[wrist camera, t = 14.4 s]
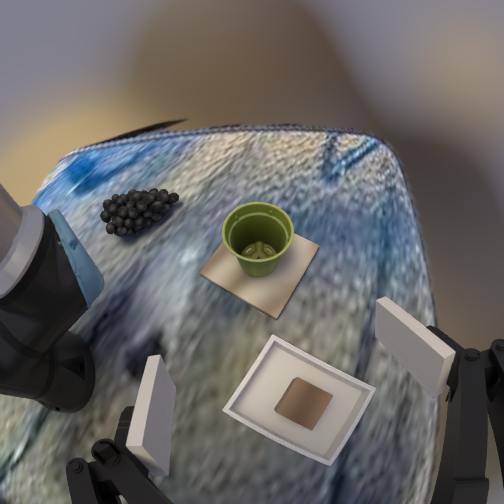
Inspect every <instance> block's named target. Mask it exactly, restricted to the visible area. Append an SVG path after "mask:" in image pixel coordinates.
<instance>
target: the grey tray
mask: <svg viewBox="0 0 504 504" xmlns="http://www.w3.org/2000/svg"><path fill="white" fill-rule="evenodd" d="M296 377H299V378H301V379H303V380H305V381H307V382H308V383H310V384H312V385H314V386H316V387H318V388H320V389H322V390H324V391H326V392H328V393H330V394H332V395H334V396H333V397H332V399H331V401H330V403H329V404H328V406H327V408H326V409H325V411H324V413H323V414H322V416H321V418H320V419H319V421H318V422H317V424H316V426H315V427H314V429H313V430H312V431H311V430H309V429H307V428H305V427H303V426H301V425H299V424H297V423H295V422H293V421H291V420H289V419H287V418H285V417H284V416H282V415H280V414H278V413H276V412H275V410H274V408H275V406H276V405H277V403H278V402H279V400H280V399H281V397H282V396H283V394H284V392H285V391H286V389H287V388H288V386H289V385H290V383H291V381H292V380H293V379H294V378H296ZM375 390H376V388H374V387H372V386H370V385H368V384H366V383H364V382H362V381H360V380H358V379H356V378H354V377H352V376H350V375H348V374H346V373H344V372H342V371H340V370H338V369H336V368H334V367H332V366H330V365H328V364H326V363H324V362H322V361H320V360H319V359H317V358H315V357H313V356H311V355H309V354H307V353H305V352H304V351H302V350H300V349H298V348H296V347H294V346H293V345H291V344H289V343H287V342H285V341H284V340H282V339H280V338H278V337H276V336H275V335H273V334H272V336H271V337H270V339H269V341H268V342H267V344H266V345H265V347H264V349H263V350H262V352H261V353H260V355H259V356H258V358H257V359H256V361H255V363H254V364H253V366H252V367H251V369H250V370H249V372H248V373H247V375H246V376H245V378H244V379H243V381H242V382H241V384H240V385H239V387H238V388H237V390H236V391H235V393H234V394H233V396H232V397H231V398H230V400H229V401H228V403H227V404H226V406H225V407H224V409H223V410H222V411H224V412H225V413H227V414H228V415H230V416H232V417H233V418H235V419H237V420H238V421H240V422H242V423H243V424H245V425H247V426H249V427H250V428H252V429H254V430H256V431H257V432H259V433H261V434H263V435H265V436H267V437H269V438H270V439H272V440H274V441H276V442H278V443H280V444H282V445H284V446H286V447H288V448H290V449H292V450H294V451H297V452H299V453H301V454H303V455H305V456H307V457H310V458H312V459H314V460H316V461H319V462H321V463H324V464H326V465H328V466H331V465H332V463H333V462H334V460H335V459H336V457H337V456H338V454H339V453H340V451H341V450H342V448H343V447H344V445H345V443H346V442H347V440H348V439H349V437H350V435H351V434H352V432H353V430H354V429H355V427H356V425H357V424H358V422H359V420H360V418H361V416H362V415H363V413H364V411H365V409H366V407H367V405H368V404H369V402H370V400H371V398H372V396H373V394H374V392H375Z"/></svg>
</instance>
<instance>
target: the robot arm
mask: <svg viewBox="0 0 504 504" xmlns="http://www.w3.org/2000/svg"><path fill="white" fill-rule="evenodd" d="M103 287H104V278H103V275H102V273H101V272H100V270H99V269H98V268H97V266H96V265H95V263H94V262H93V260H92V259H91V258H90V256H89V255H88V253H87V252H86V250H85V249H84V247H83V246H82V244H81V243H80V241H79V240H78V238H77V237H76V235H75V234H74V232H73V231H72V229H71V228H70V226H69V224H68V223H67V221H66V220H65V218H64V217H63V215H62V214H61V212H60V211H59V210H58V209H55V210H53V211H51V212H49V213H48V215H47V216H46V215H45V214H44V213H43V211H42V210H41V209H40V208H39V207H37V206H35V205H28V206H23V207H20V206H19V205H18V204H17V203H16V202H15V201H14V200H13V198H12V197H11V196H10V195H9V193H8V192H7V191H6V190H5V189H4V187H3V186H2V185H1V184H0V394H3V395H9V396H15V397H21V398H28V399H34V400H35V401H37V402H39V403H40V404H42V405H44V406H46V407H47V408H49V409H51V410H53V411H57V412H66V413H70V412H75V411H77V410H79V409H81V408H82V407H83V406H84V405H85V404H86V403H87V402H88V400H89V398H90V396H91V394H92V391H93V387H94V381H95V369H94V363H93V359H92V356H91V353H90V351H89V349H88V347H87V345H86V344H85V342H84V341H83V340H82V339H81V338H80V337H79V336H78V335H76V334H74V333H72V332H70V331H68V330H69V329H70V328H71V327H72V325H73V324H74V323H75V322H76V321H77V320H78V319H79V318H80V317H81V316H82V315H83V314H84V313H85V312H86V311H87V310H88V309H89V308H90V307H91V304H92V303H93V301H94V300H95V299H96V298H97V297H98V295H99V294H100V293H101V292H102V290H103ZM375 337H376V338H377V339H378V340H379V341H380V342H381V343H382V344H383V345H384V346H385V347H386V348H387V349H388V350H389V351H390V353H391V354H392V355H393V356H394V357H395V358H396V359H397V360H398V361H399V362H400V363H401V364H402V365H403V366H404V367H405V369H406V370H407V371H408V372H409V373H410V374H411V375H412V376H413V377H414V378H415V379H416V380H417V382H418V383H419V384H420V385H421V386H422V387H423V388H424V389H425V390H426V391H427V392H428V394H429V395H430V396H431V397H432V398H435V397H436V396H438V395H439V394H441V393H443V392H444V389H445V386H446V384H447V385H448V386H449V387H450V389H449V392H448V395H447V398H446V402H447V400H448V411H447V422H446V430H445V438H444V445H443V451H442V457H441V462H440V467H439V472H438V477H437V481H436V485H435V489H434V493H433V497H432V500H431V503H430V504H486V502H487V496H488V490H489V480H488V479H487V478H485V467H486V455H487V436H488V434H487V433H488V414H489V418H490V422H491V425H492V429H493V432H494V437H495V441H496V445H497V450H498V455H499V460H500V466H501V472H502V478H503V487H504V340H503V339H496V340H494V341H493V342H492V344H491V347H490V349H488V350H485V351H482V352H480V351H478V350H476V349H472V348H469V349H464V348H462V347H461V346H460V345H459V344H457V343H456V342H455V341H453V340H452V339H451V338H450V337H448V336H447V335H446V334H444V333H443V332H442V331H441V330H440V329H438V328H436V327H433V326H430V325H429V326H427V327H424V326H423V325H422V324H421V323H419V322H418V321H417V320H416V319H414V318H413V317H412V316H411V315H409V314H408V313H407V312H405V311H404V310H403V309H401V308H400V307H399V306H398V305H396V304H395V303H394V302H392V301H391V300H390V299H388V298H387V297H383V298H381V299H378V300H376V323H375ZM175 395H176V387H175V385H174V383H173V381H172V378H171V376H170V374H169V372H168V370H167V368H166V366H165V364H164V361H163V359H162V357H161V355H155V356H148V360H147V363H146V367H145V370H144V374H143V378H142V381H141V385H140V389H139V392H138V396H137V400H136V404H135V406H129V407H126V408H125V409H124V411H123V412H122V413H121V416H120V420H119V423H118V429H117V431H116V434H115V438H114V441H113V440H111V439H108V438H107V439H101V440H99V441H97V442H96V443H95V444H94V445H93V447H92V450H91V453H92V456H93V457H94V458H95V459H96V460H97V461H95V462H90V463H87V462H86V461H85V460H84V459H82V458H74V459H72V460H70V461H69V462H68V464H67V466H66V474H67V480H68V486H69V491H70V496H71V500H72V504H122V503H121V500H120V498H119V495H122V496H123V497H124V498H125V500H126V501H127V502H128V504H173V503H172V502H171V501H170V500H169V499H168V498H167V497H166V496H165V495H164V494H163V493H162V492H161V491H160V490H159V489H158V488H157V486H156V485H155V484H154V483H153V482H152V481H151V480H150V479H149V478H148V472H150V473H151V474H152V475H153V476H169V462H170V448H171V435H172V424H173V414H174V404H175ZM487 411H488V414H487Z"/></svg>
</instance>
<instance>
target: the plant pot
mask: <svg viewBox="0 0 504 504" xmlns="http://www.w3.org/2000/svg"><path fill="white" fill-rule="evenodd" d="M293 235H294V228H293V224H292V221H291V219H290V218H289V216H288V215H287V214H286V213H285V212H284V211H283V210H282V209H280V208H279V207H277V206H275V205H272V204H269V203H264V202H251V203H247V204H244V205H241V206H239V207H237V208H236V209H234V210H233V211H232V212H231V213H230V214H229V215H228V216H227V218H226V219H225V221H224V224H223V228H222V238H223V241H224V243H225V245H226V247H227V249H228V250H229V251H230V252H231V253H232V254H233V255H235V256H236V257H237V259H238V261H239V263H240V266H241V268H242V269H243V270H244V271H245V272H246V273H247V274H249V275H251V276H267V275H269V274H270V273H272V272H273V271H274V270H275V268H276V267H277V265H278V262H279V260H280V258H281V255H282V254H283V253H284V252H285V251H286V250H287V249H288V248H289V246H290V244H291V242H292V239H293ZM249 248H252V249H251V250H249V251H248V252H247V253H246V250H247V249H249ZM266 248H269V249H270V250H271V251H272V253H270V252H269V251H268V250H267V249H266ZM258 257H260V259H257V258H258Z"/></svg>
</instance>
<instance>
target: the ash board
mask: <svg viewBox="0 0 504 504" xmlns="http://www.w3.org/2000/svg"><path fill="white" fill-rule="evenodd" d="M318 248H319V245H317V244H315V243H313V242H311V241H309V240H307V239H305V238H303V237H301V236H299V235H297V234H295V233H294V235H293V239H292V242H291V244H290V246H289V248H288V249H287V250H286V251H285V252H284V253H283V254H282V255H281V258H280V260H279V262H278V265H277V267H276V268H275V270H274V271H273V272H272V273H270V274H269V275H267V276H251V275H249V274H247V273H246V272H245V271H244V270H243V269H242V268H241V266H240V263H239V261H238V259H237V257H236V256H235V255H233V254H232V253H231V252H230V251H229V250H228V249H227V247H226V245H225V243H224V241H223V242H222V244H221V245H220V246H219V248H218V249H217V250H216V251H215V253H214V254H213V255H212V257H211V258H210V259H209V261H208V262H207V263H206V265H205V266H204V267H203V269H202V270H201V271H200V275H201V276H202V277H204V278H205V279H207V280H209V281H210V282H212V283H214V284H215V285H217V286H219V287H220V288H222V289H224V290H225V291H227V292H229V293H230V294H232V295H234V296H235V297H237V298H239V299H241V300H242V301H244V302H246V303H247V304H249V305H251V306H253V307H254V308H256V309H258V310H259V311H261V312H263V313H265V314H267V315H268V316H270V317H272V318H274V319H275V320H277V318H278V317H279V315H280V313H281V312H282V310H283V308H284V307H285V305H286V304H287V302H288V300H289V299H290V297H291V295H292V293H293V292H294V290H295V288H296V287H297V285H298V283H299V282H300V280H301V278H302V276H303V275H304V273H305V271H306V270H307V268H308V266H309V264H310V262H311V261H312V259H313V257H314V255H315V254H316V252H317V250H318ZM251 249H252V248H249V249H247V250H246V253H247V252H248V251H249V250H251ZM266 249H267V250H268V251H269V252H270V253H272V251H271V250H270V249H269V248H266ZM257 259H260V257H258V258H257Z"/></svg>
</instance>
